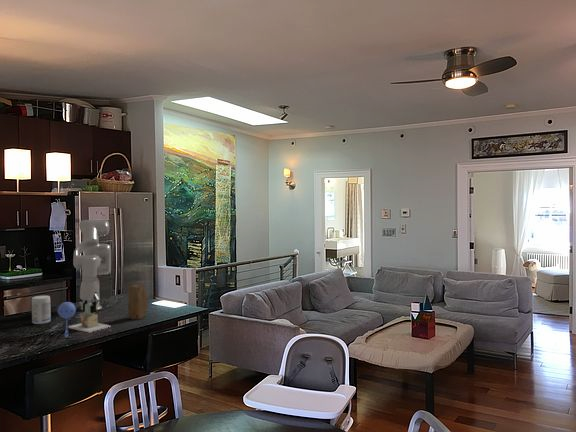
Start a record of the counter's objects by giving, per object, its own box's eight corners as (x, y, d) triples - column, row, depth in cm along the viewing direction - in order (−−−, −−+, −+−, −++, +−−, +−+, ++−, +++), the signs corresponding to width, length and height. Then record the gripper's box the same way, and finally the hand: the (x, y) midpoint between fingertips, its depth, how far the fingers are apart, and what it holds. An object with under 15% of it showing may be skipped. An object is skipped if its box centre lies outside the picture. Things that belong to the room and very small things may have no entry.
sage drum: (83, 315, 269) (83, 304, 268) (90, 313, 273) (90, 303, 273) (88, 316, 266) (88, 305, 266) (96, 314, 270) (96, 303, 270)
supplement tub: (50, 319, 285) (50, 294, 285) (50, 323, 277) (50, 297, 276) (32, 321, 281) (32, 296, 281) (31, 325, 273) (31, 299, 272)
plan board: (67, 327, 268) (67, 326, 268) (89, 322, 280) (89, 321, 280) (89, 332, 259) (89, 331, 259) (110, 327, 271) (110, 325, 271)
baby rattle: (61, 334, 255) (61, 300, 254) (78, 334, 256) (78, 300, 255) (54, 339, 246) (54, 303, 246) (72, 338, 247) (72, 303, 246)
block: (137, 320, 286) (137, 286, 286) (126, 319, 289) (126, 285, 288) (148, 316, 296) (148, 283, 296) (138, 315, 299) (138, 283, 298)
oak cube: (81, 326, 268) (81, 315, 268) (90, 323, 274) (90, 313, 273) (88, 327, 265) (88, 316, 265) (97, 325, 271) (97, 314, 270)
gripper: (73, 278, 270) (73, 311, 270) (93, 281, 261) (93, 315, 262) (85, 277, 276) (85, 308, 277) (105, 279, 267) (105, 312, 268)
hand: (89, 311), depth 269 cm, fingers open, 5 cm apart
